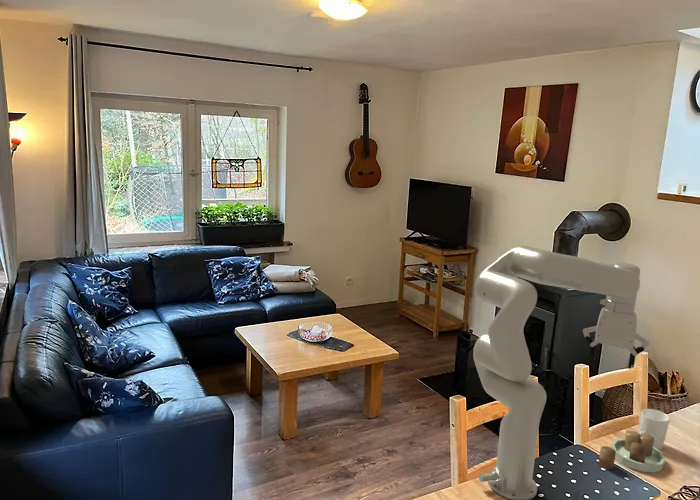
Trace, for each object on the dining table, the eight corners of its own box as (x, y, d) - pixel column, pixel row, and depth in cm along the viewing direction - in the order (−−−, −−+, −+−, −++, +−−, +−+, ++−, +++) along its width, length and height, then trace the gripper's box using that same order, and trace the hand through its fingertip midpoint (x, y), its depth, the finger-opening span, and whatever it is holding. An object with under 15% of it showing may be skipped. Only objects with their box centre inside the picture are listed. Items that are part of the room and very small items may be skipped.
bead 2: (628, 462, 155) (631, 447, 154) (629, 455, 158) (631, 440, 158) (644, 466, 153) (646, 451, 152) (644, 460, 157) (646, 444, 156)
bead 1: (605, 470, 152) (607, 454, 152) (595, 462, 156) (597, 446, 155) (616, 468, 154) (618, 453, 153) (606, 460, 157) (608, 445, 156)
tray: (635, 475, 151) (638, 456, 149) (600, 448, 164) (603, 430, 163) (674, 469, 154) (678, 450, 153) (637, 443, 168) (640, 426, 166)
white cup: (668, 452, 163) (673, 422, 161) (641, 448, 165) (645, 419, 163) (659, 439, 171) (664, 410, 169) (633, 435, 172) (637, 407, 170)
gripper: (585, 303, 152) (577, 359, 155) (654, 315, 143) (644, 374, 147) (588, 298, 158) (580, 352, 161) (654, 309, 150) (645, 365, 153)
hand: (611, 362), depth 154 cm, fingers open, 9 cm apart
